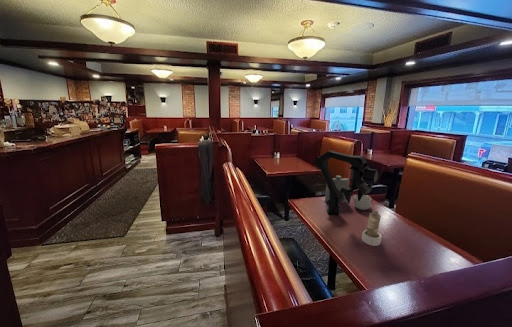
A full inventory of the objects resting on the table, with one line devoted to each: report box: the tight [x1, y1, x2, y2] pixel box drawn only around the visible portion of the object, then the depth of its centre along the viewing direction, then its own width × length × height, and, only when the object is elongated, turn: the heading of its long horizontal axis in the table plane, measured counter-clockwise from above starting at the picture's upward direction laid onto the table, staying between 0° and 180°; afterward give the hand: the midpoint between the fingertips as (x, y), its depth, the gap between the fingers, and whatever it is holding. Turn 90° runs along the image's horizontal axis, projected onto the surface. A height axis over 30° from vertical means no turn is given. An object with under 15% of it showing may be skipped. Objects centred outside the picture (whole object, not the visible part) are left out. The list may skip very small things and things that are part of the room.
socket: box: [361, 229, 382, 247], centre depth 117 cm, size 8×8×4 cm
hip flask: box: [324, 175, 350, 204], centre depth 161 cm, size 16×4×20 cm, turn 95°
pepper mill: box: [366, 210, 381, 238], centre depth 115 cm, size 5×5×16 cm
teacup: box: [353, 194, 372, 211], centre depth 154 cm, size 14×11×8 cm
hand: (353, 202), depth 135 cm, fingers open, 9 cm apart
